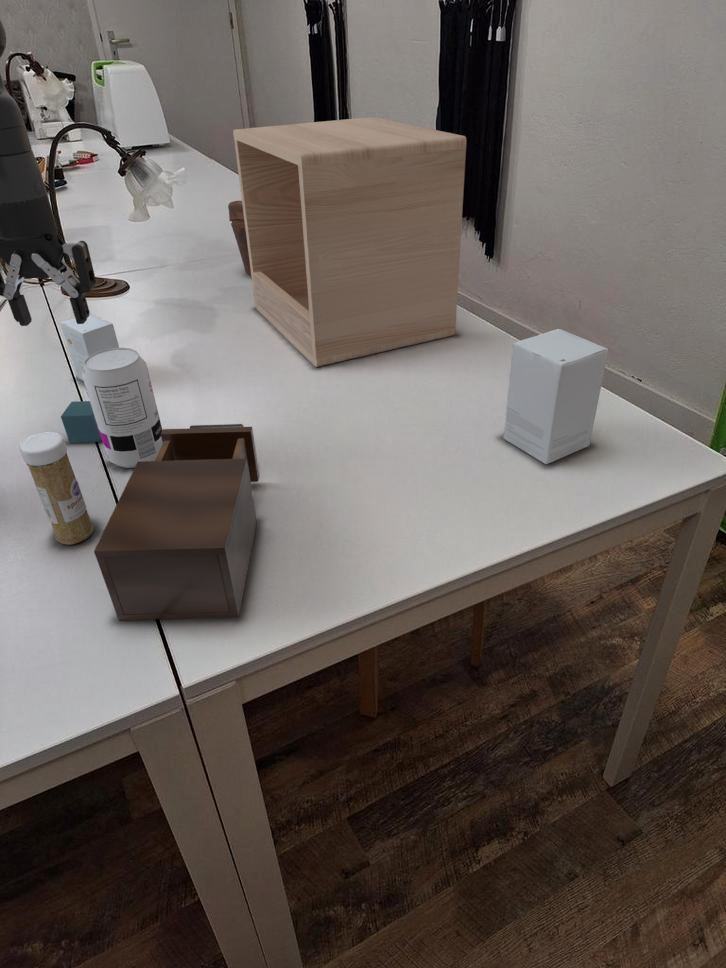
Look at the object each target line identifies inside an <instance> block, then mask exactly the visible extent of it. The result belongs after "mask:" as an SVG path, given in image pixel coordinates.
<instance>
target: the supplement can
mask: <svg viewBox="0 0 726 968" xmlns="http://www.w3.org/2000/svg"><path fill="white" fill-rule="evenodd" d="M82 377H83V380H84V381H83V383H84V386H85V390H86V392H87V396H88V399H89V400H88V401H90V403H91V406H92V409H93V413H94V416H95V419H96V422H97V426H98V429H99V432H100V435H101V441H102V445H103V448H104V451H105V454H106V459H108V461H109V462H110V463H112V464H114V465H116V466H118V467H121V468H127V469H131V468H132V469H134V468H135V466H136V464H137V462H143V461H155V460H156V457H157V455H158V453H159V451H160V449H161V446H162V444H163V442H162V438H161V432H162V430H163V426H162V422H161V419H160V414H159V410H158V406H157V402H156V401H157V400H156V398H155V397H156V396H155V393H154V389H153V385H152V381H151V377H150V372H149V367H148V364H147V362H146V361H145V359H143V358H142V356H141V355H140V353H139V351H138V350H136V349H133V348H131V347H119V348H112V349H106V350H102V351H99V352H96V353H94V354H92V355H90V356H89V357H88V358H87V359H85V361H84V370H83V374H82Z"/></svg>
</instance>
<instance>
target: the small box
mask: <svg viewBox="0 0 726 968" xmlns="http://www.w3.org/2000/svg"><path fill="white" fill-rule="evenodd" d="M60 326H61V330H62V332H63V336H64V339H65V342H66V345H67V348H68V351H69V355H70V357H71V361H72V364H73V367H74V369H75V373H76V376H77V379H78V380H81V381H82V382H84V380H83V377H82V374H83V370H84V361H85V359H87V358H88V357H89V356H90V355H92V354H94V353H96V352H99V351H102V350H106V349H112V348H120V345H119V342H118V338H117V334H116V331H115V327H114V323H112V322H110V321H108V320H105V319H103V318H102V317H99V316H96V315H95V314H92V313H91V312H90V314H89V317H88V318H87V320H86V322H85V323H84V324H77V322H76V319H75V317H74V318H69V319H67V320H64V321H61V322H60Z"/></svg>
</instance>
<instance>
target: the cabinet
mask: <svg viewBox="0 0 726 968" xmlns="http://www.w3.org/2000/svg"><path fill="white" fill-rule="evenodd" d="M131 472H132V473H131V475H130V476H129V479H128V481H127V483H126V485H125V486H124V488H123V491H122V493H121V495H120V497H119V499H118V501H117V503H116V505H115V506H114V510H113V511H112V513H111V515H110V518H109V519H108V522H107V523H106V525H105V527H104V530H103V532H102V534H101V536H100V538H99V540H98V542H97V545H96V546H95V548H94V550H93V553H94V555H95V558H96V561H97V563H98V566H99V569H100V573H101V575H102V578H103V581H104V583H105V586H106V589H107V592H108V594H109V597H110V600H111V603H112V606H113V609H114V611H115V614H116V617H117V620H118V621H142V620H144V621H145V620H178V619H179V620H181V619H213V618H215V619H216V618H218V619H219V618H239V617H240V611H241V606H242V601H243V596H244V591H245V586H246V580H247V575H248V570H249V566H250V561H251V555H252V549H253V545H254V539H255V534H256V530H257V529H256V528H257V524H258V521H257V515H256V510H255V509H256V508H255V502H254V496H253V490H252V482H251V483H250V477H249V471H248V465H247V459H246V458H244V459H210V460H176V461H143V462H137V464H136V466H135V467H133V471H131Z"/></svg>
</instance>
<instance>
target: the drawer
mask: <svg viewBox="0 0 726 968" xmlns="http://www.w3.org/2000/svg"><path fill="white" fill-rule="evenodd" d="M253 429H254V428H253V426H244V424H243V423H233V424H232V423H228V424H227V423H225V424H200V425H199V424H198V425H197V424H193V425H189V428H162V432H161V438H162V442H163V444H162V446H161V449H160V451H159V453H158V455H157V457H156V460H155V461H176V460H210V459H244V458H246V459H247V465H248V471H249V477H250V483H251V484H252V483H258V482H259V481H260V471H259V465H258V457H257V449H256V442H255V435H254V430H253Z"/></svg>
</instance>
